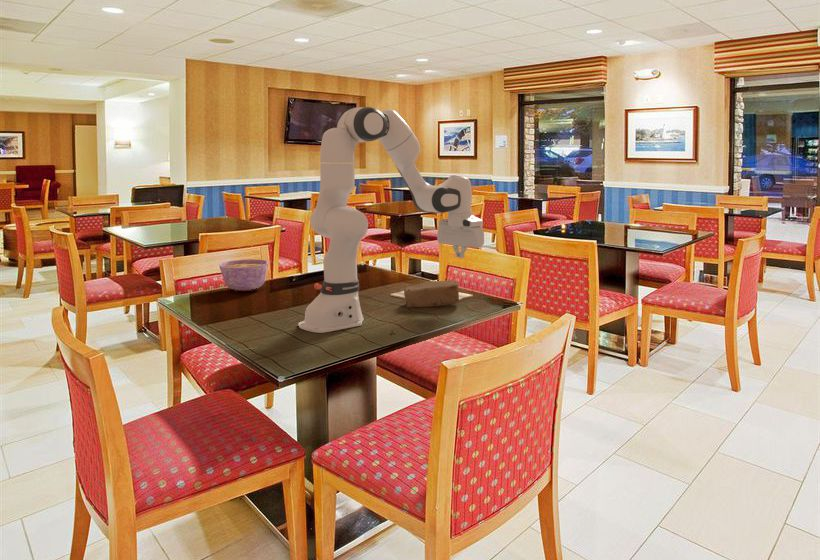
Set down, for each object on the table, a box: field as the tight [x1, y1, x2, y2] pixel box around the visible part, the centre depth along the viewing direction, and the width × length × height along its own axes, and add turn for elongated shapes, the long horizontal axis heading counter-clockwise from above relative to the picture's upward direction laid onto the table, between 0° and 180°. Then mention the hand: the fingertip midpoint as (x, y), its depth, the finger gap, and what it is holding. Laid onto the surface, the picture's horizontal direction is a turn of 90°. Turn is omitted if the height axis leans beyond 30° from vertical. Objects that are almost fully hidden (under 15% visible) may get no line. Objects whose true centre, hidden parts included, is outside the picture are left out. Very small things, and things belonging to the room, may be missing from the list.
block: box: [403, 280, 460, 308], centre depth 228 cm, size 11×8×20 cm
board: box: [390, 290, 474, 301], centre depth 243 cm, size 20×26×1 cm
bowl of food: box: [219, 258, 269, 291], centre depth 259 cm, size 20×20×12 cm
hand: (459, 257), depth 229 cm, fingers closed
